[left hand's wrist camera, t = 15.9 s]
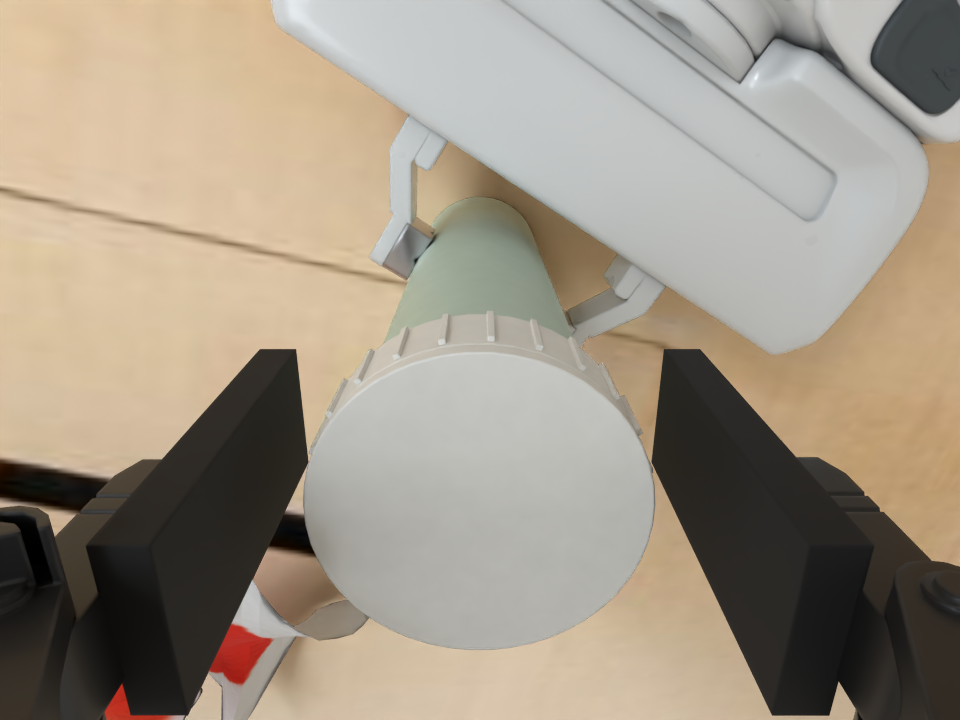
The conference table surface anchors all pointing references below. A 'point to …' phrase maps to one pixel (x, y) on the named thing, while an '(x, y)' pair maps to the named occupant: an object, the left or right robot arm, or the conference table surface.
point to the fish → (256, 652)
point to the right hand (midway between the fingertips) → (466, 314)
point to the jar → (480, 270)
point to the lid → (479, 484)
